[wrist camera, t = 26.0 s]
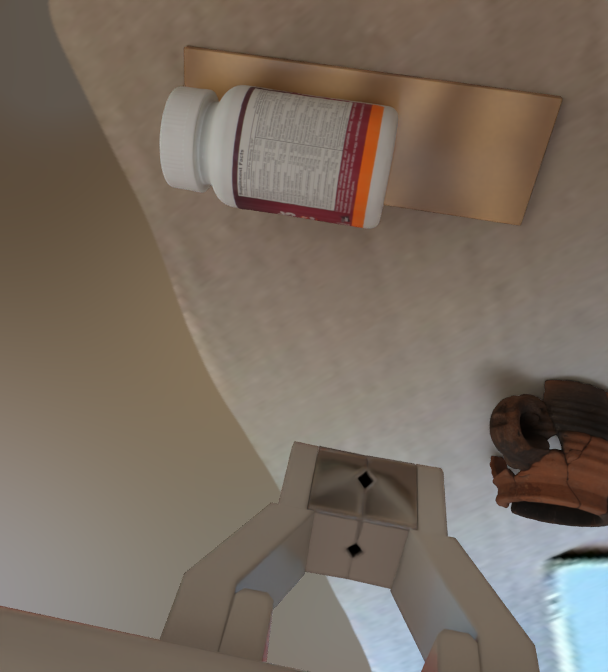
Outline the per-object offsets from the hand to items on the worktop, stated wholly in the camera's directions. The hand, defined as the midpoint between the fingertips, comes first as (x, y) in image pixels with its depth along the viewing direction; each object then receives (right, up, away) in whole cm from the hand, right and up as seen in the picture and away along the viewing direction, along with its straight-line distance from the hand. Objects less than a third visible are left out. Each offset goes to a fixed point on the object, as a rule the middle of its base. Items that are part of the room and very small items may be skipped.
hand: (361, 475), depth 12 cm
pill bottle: (+3, +11, +18) cm, 21 cm away
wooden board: (+2, +14, +21) cm, 25 cm away
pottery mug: (+16, -3, +30) cm, 34 cm away
